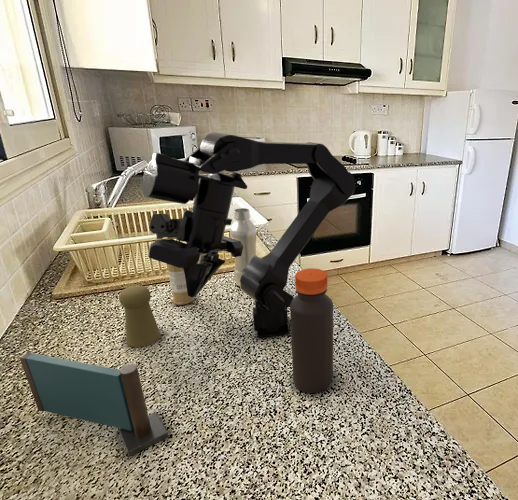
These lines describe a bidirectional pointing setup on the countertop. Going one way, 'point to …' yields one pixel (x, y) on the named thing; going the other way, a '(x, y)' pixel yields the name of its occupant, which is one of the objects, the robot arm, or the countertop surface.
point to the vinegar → (312, 332)
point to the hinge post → (139, 415)
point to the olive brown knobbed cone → (139, 316)
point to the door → (77, 390)
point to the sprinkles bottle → (178, 285)
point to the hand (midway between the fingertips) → (191, 296)
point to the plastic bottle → (243, 240)
